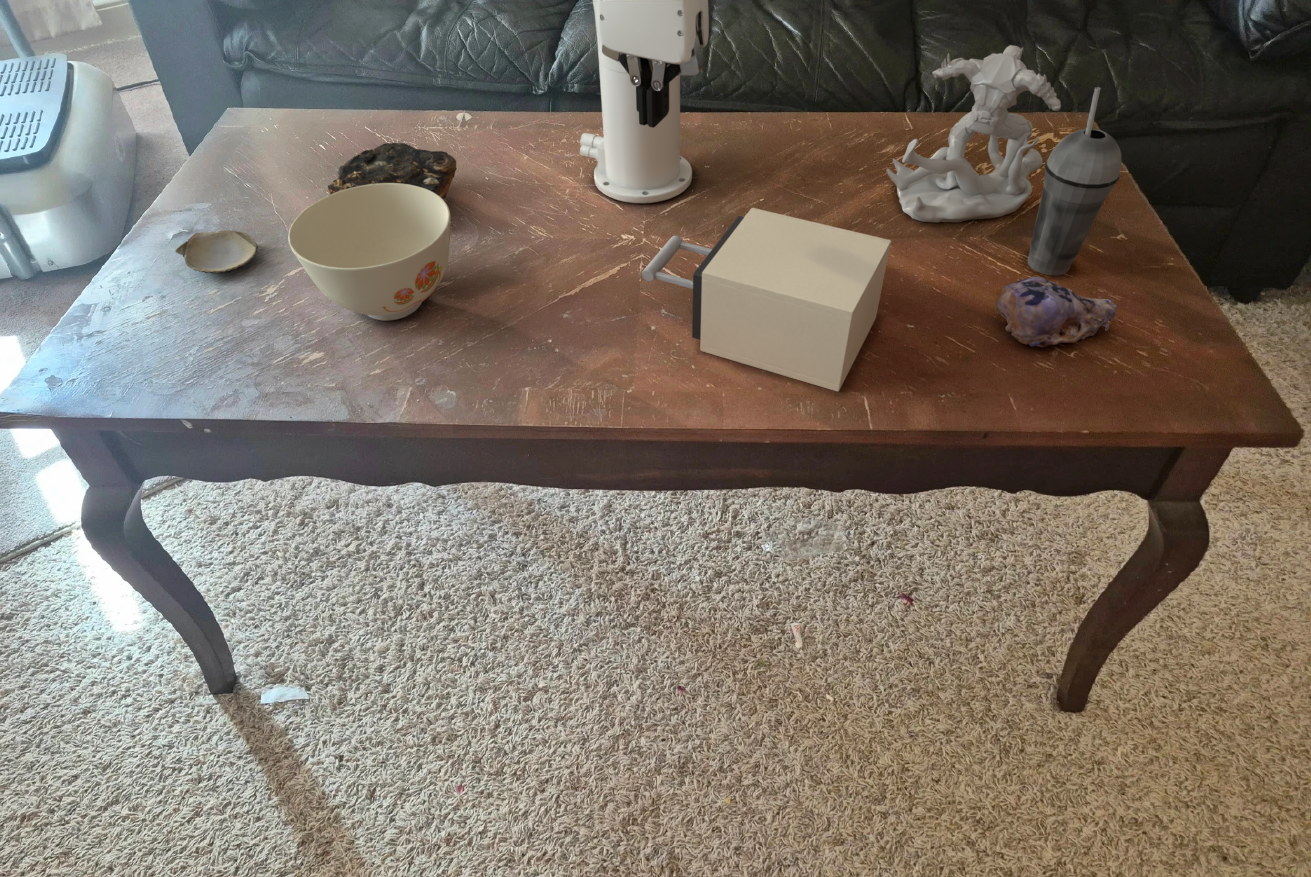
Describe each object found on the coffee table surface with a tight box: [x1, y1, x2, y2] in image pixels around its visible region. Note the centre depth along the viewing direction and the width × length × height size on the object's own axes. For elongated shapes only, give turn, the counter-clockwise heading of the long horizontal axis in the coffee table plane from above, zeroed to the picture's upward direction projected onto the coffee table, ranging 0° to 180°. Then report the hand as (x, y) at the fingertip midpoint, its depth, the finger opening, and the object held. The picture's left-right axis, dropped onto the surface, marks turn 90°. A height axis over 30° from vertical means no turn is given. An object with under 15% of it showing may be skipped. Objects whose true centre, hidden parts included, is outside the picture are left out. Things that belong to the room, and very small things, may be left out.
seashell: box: [175, 230, 258, 274], centre depth 101 cm, size 8×3×8 cm
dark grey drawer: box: [641, 215, 745, 341], centre depth 89 cm, size 20×11×8 cm, turn 64°
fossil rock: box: [327, 141, 457, 201], centre depth 108 cm, size 14×14×6 cm
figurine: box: [885, 44, 1062, 223], centre depth 102 cm, size 18×13×18 cm
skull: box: [994, 276, 1118, 348], centre depth 88 cm, size 12×8×6 cm, turn 85°
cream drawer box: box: [699, 207, 892, 393], centre depth 87 cm, size 15×13×10 cm
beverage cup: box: [1027, 86, 1122, 276], centre depth 91 cm, size 7×7×20 cm
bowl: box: [287, 183, 451, 322], centre depth 92 cm, size 16×16×10 cm
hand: (653, 120), depth 91 cm, fingers closed
